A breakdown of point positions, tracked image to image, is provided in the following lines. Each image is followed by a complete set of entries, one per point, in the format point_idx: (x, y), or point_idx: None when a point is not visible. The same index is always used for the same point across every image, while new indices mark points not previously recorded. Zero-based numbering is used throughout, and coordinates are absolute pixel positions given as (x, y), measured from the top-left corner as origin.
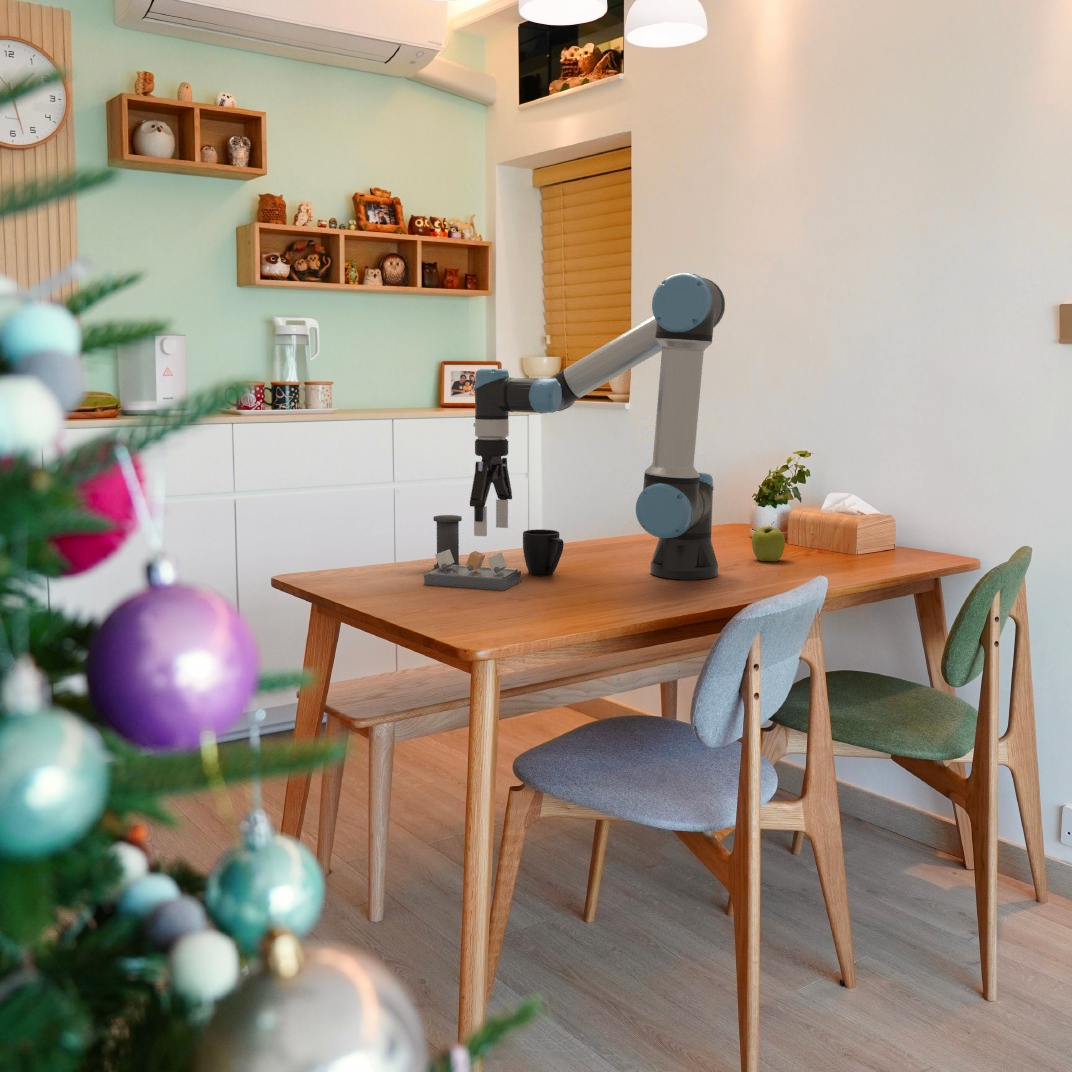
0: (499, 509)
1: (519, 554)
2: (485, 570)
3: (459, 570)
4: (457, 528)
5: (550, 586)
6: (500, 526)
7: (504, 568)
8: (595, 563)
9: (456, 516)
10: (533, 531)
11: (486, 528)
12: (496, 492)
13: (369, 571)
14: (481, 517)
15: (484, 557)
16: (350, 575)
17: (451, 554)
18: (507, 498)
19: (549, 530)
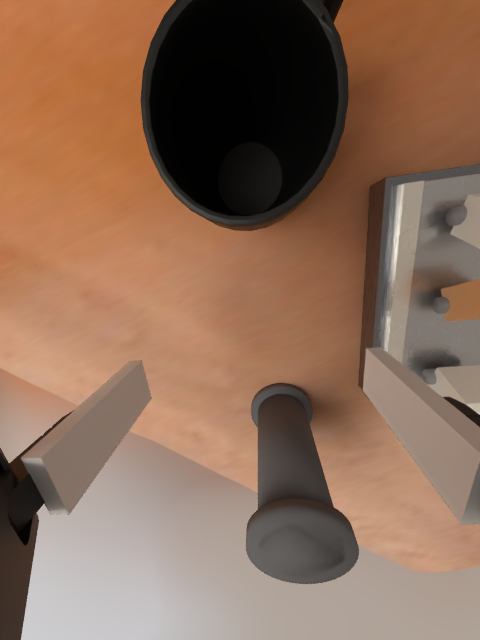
0: (104, 443)
1: (54, 346)
2: (432, 274)
3: (448, 337)
4: (294, 477)
5: (434, 43)
6: (145, 385)
7: (453, 207)
8: (20, 94)
9: (274, 532)
10: (193, 198)
11: (385, 363)
12: (28, 581)
13: (360, 505)
14: (468, 413)
15: (474, 280)
16: (407, 515)
17: (454, 387)
18: (9, 471)
19: (150, 105)
